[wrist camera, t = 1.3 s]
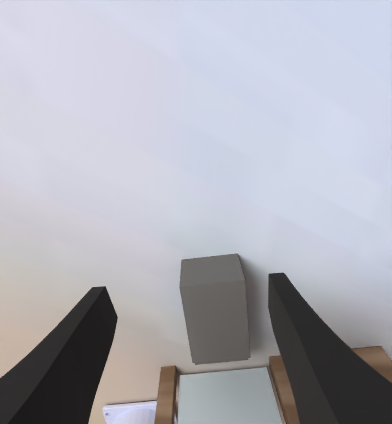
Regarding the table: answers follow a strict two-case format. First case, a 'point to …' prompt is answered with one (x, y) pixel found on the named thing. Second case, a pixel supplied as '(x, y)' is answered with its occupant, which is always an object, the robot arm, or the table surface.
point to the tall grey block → (215, 308)
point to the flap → (228, 398)
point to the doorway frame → (369, 355)
